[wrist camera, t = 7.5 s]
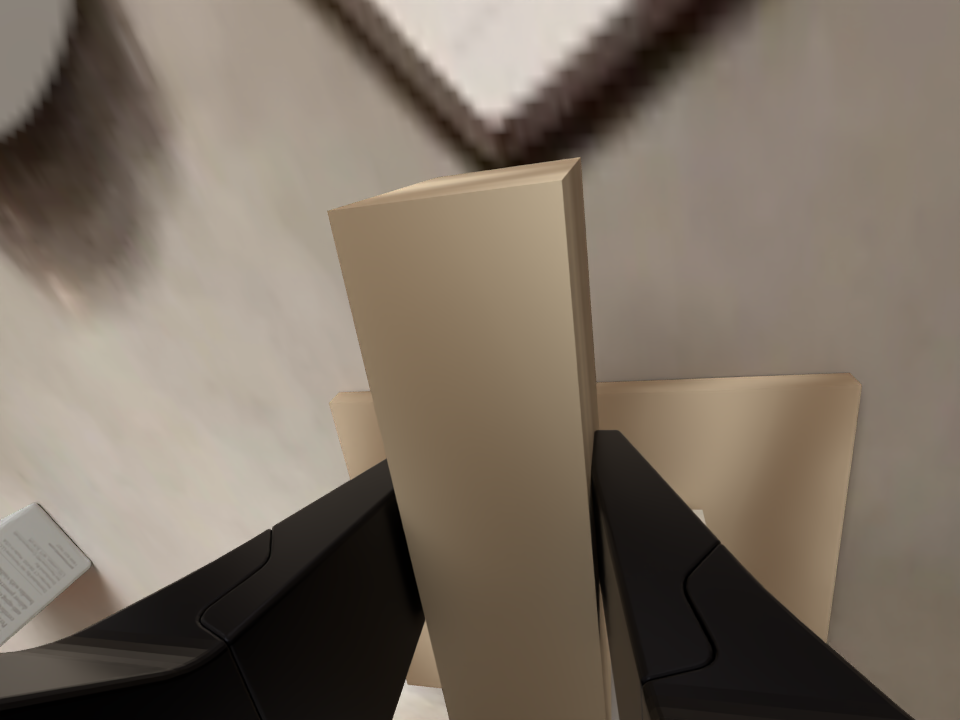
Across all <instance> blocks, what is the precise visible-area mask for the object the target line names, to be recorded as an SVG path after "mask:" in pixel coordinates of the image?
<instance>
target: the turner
mask: <svg viewBox="0 0 960 720" xmlns="http://www.w3.org/2000/svg"><path fill="white" fill-rule="evenodd" d="M327 212H328V216H329V220H330V225H331V229H332V233H333V237H334V241H335V245H336V250H337V254H338V258H339V262H340V266H341V270H342V274H343V279H344V283H345V287H346V291H347V295H348V299H349V304H350V308H351V312H352V316H353V320H354V324H355V329H356V333H357V337H358V341H359V345H360V349H361V354H362V358H363V362H364V366H365V370H366V374H367V379H368V383H369V387H370V391H371V395H372V399H373V404H374V408H375V412H376V416H377V420H378V424H379V429H380V433H381V437H382V441H383V445H384V449H385V453H386V458H387V462H388V466H389V470H390V474H391V478H392V483H393V487H394V491H395V495H396V499H397V503H398V508H399V512H400V516H401V520H402V524H403V528H404V533H405V537H406V541H407V545H408V549H409V553H410V558H411V562H412V566H413V570H414V574H415V578H416V583H417V587H418V591H419V595H420V599H421V603H422V608H423V612H424V616H425V620H426V624H427V628H428V632H429V637H430V641H431V645H432V649H433V653H434V657H435V662H436V666H437V670H438V674H439V678H440V682H441V687H442V691H443V695H444V699H445V703H446V707H447V712H448V716H449V720H619V714H618V707H617V700H616V693H615V686H614V679H613V672H612V665H611V658H610V651H609V644H608V637H607V630H606V623H605V616H604V609H603V602H602V595H601V588H600V581H599V569H598V556H597V543H596V530H595V518H594V505H593V492H592V480H591V465H592V453H593V441H594V431H596V430H599V417H598V402H597V388H596V373H595V358H594V344H593V329H592V315H591V300H590V286H589V271H588V257H587V242H586V228H585V213H584V198H583V184H582V169H581V157H579V158H572V159H565V160H558V161H551V162H544V163H536V164H529V165H522V166H515V167H508V168H501V169H494V170H487V171H480V172H473V173H466V174H458V175H451V176H444V177H437V178H434V179H431V180H427V181H424V182H421V183H418V184H414V185H411V186H408V187H404V188H401V189H398V190H395V191H391V192H388V193H385V194H382V195H378V196H375V197H372V198H368V199H365V200H362V201H359V202H355V203H352V204H349V205H346V206H342V207H339V208H336V209H332V210H329V211H327Z"/></svg>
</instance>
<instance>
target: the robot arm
mask: <svg viewBox="0 0 960 720" xmlns="http://www.w3.org/2000/svg"><path fill="white" fill-rule="evenodd" d="M591 480H592V492H593V505H594V518H595V530H596V543H597V556H598V569H599V581H600V588H601V595H602V602H603V609H604V616H605V623H606V630H607V637H608V644H609V651H610V658H611V665H612V672H613V679H614V686H615V693H616V700H617V707H618V714H619V720H915V719H914V718H912V717H911V716H910V715H909V714H907V713H906V712H905V711H904V710H903V709H901V708H900V707H899V706H898V705H897V704H895V703H894V702H893V701H892V700H891V699H890V698H888V697H887V696H886V695H885V694H884V693H883V692H882V691H880V690H879V689H878V688H877V687H876V686H875V685H874V684H872V683H871V682H870V681H869V680H868V679H867V678H866V677H864V676H863V675H862V674H861V673H860V672H859V671H858V670H856V669H855V668H854V667H853V666H852V665H851V664H850V663H848V662H847V661H846V660H845V659H844V658H843V657H841V656H840V655H839V654H838V653H837V652H836V651H835V650H833V649H832V648H831V647H830V646H829V645H828V644H827V643H825V642H824V641H823V640H822V639H821V638H820V637H819V636H817V635H816V634H815V633H814V632H813V631H812V630H811V629H809V628H808V627H807V626H806V625H805V624H804V623H803V622H801V621H800V620H799V619H798V618H797V617H796V616H795V615H794V614H793V613H791V612H790V611H789V610H788V609H787V608H786V607H785V606H784V605H783V604H782V603H781V602H779V601H778V600H777V599H776V598H775V597H774V596H773V595H772V594H771V593H770V592H769V591H767V590H766V589H765V588H764V587H763V586H762V585H761V584H760V583H759V582H758V580H757V579H756V578H755V577H754V576H753V575H752V574H751V573H750V572H749V571H748V570H747V569H746V568H745V567H744V566H743V565H742V564H741V563H740V562H739V561H738V560H737V559H736V558H735V557H734V555H733V554H732V553H731V552H730V551H729V550H728V549H727V548H726V547H725V546H724V545H723V544H721V542H720V540H719V539H718V538H717V537H716V536H715V535H714V534H713V533H712V531H711V530H710V529H709V528H708V527H707V526H706V525H705V524H704V523H703V522H702V521H701V519H700V518H699V517H698V516H697V515H696V514H695V513H694V512H693V511H692V510H691V508H690V507H689V506H688V505H687V504H686V503H685V502H684V501H683V500H682V499H681V497H680V496H679V495H678V494H677V493H676V492H675V491H674V490H673V489H672V488H671V486H670V485H669V484H668V483H667V482H666V481H665V480H664V479H663V478H662V477H661V475H660V474H659V473H658V472H657V471H656V470H655V469H654V468H653V467H652V466H651V465H650V463H649V462H648V461H647V460H646V459H645V458H644V457H643V456H642V455H641V454H640V452H639V451H638V450H637V449H636V448H635V447H634V446H633V445H632V444H631V443H630V441H629V440H628V439H627V438H626V437H625V436H624V435H623V434H622V433H621V432H620V431H619V430H596V431H594V441H593V453H592V465H591ZM424 623H425V616H424V612H423V608H422V603H421V599H420V595H419V591H418V587H417V583H416V578H415V574H414V570H413V566H412V562H411V558H410V553H409V549H408V545H407V541H406V537H405V533H404V528H403V524H402V520H401V516H400V512H399V508H398V503H397V499H396V495H395V491H394V487H393V483H392V478H391V474H390V470H389V466H388V462H387V458H386V459H385V460H383V461H381V462H380V463H378V464H376V465H375V466H373V467H371V468H370V469H368V470H366V471H365V472H363V473H361V474H360V475H358V476H356V477H355V478H353V479H351V480H350V481H348V482H346V483H345V484H343V485H341V486H340V487H338V488H336V489H335V490H333V491H331V492H330V493H328V494H326V495H324V496H323V497H321V498H319V499H318V500H316V501H314V502H313V503H311V504H309V505H308V506H306V507H304V508H303V509H301V510H299V511H298V512H296V513H294V514H293V515H291V516H289V517H288V518H286V519H284V520H283V521H281V522H279V523H278V524H276V525H274V526H273V528H272V530H271V529H268V530H266V531H264V532H263V533H261V534H259V535H258V536H256V537H254V538H253V539H251V540H249V541H248V542H246V543H244V544H242V545H241V546H239V547H237V548H236V549H234V550H232V551H230V552H229V553H227V554H225V555H223V556H222V557H220V558H218V559H217V560H215V561H213V562H211V563H209V564H207V565H205V566H204V567H202V568H200V569H198V570H196V571H194V572H192V573H191V574H189V575H187V576H185V577H183V578H181V579H179V580H178V581H176V582H174V583H172V584H170V585H168V586H166V587H164V588H162V589H160V590H158V591H157V592H155V593H153V594H151V595H149V596H147V597H145V598H143V599H141V600H139V601H137V602H136V603H134V604H132V605H130V606H128V607H126V608H124V609H122V610H120V611H118V612H116V613H115V614H113V615H111V616H109V617H107V618H105V619H103V620H101V621H99V622H97V623H95V624H94V625H92V626H90V627H88V628H86V629H84V630H82V631H79V632H77V633H75V634H73V635H71V636H69V637H66V638H63V639H61V640H58V641H55V642H53V643H49V644H46V645H42V646H39V647H36V648H31V649H26V650H21V651H15V652H6V653H0V720H392V719H393V716H394V713H395V710H396V707H397V704H398V701H399V698H400V695H401V692H402V689H403V686H404V683H405V680H406V677H407V674H408V671H409V668H410V665H411V662H412V659H413V656H414V653H415V650H416V647H417V644H418V641H419V638H420V635H421V632H422V629H423V626H424Z"/></svg>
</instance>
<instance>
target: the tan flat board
mask: <svg viewBox="0 0 960 720" xmlns="http://www.w3.org/2000/svg"><path fill="white" fill-rule="evenodd" d="M596 388H597V402H598V417H599V430H619V431H620V432H621V433H622V434H623V435H624V436H625V437H626V438H627V439H628V440H629V441H630V443H631V444H632V445H633V446H634V447H635V448H636V449H637V450H638V451H639V452H640V454H641V455H642V456H643V457H644V458H645V459H646V460H647V461H648V462H649V463H650V465H651V466H652V467H653V468H654V469H655V470H656V471H657V472H658V473H659V474H660V475H661V477H662V478H663V479H664V480H665V481H666V482H667V483H668V484H669V485H670V486H671V488H672V489H673V490H674V491H675V492H676V493H677V494H678V495H679V496H680V497H681V499H682V500H683V501H684V502H685V503H686V504H687V505H688V506H689V507H690V508H691V510H703V514H704V518H705V522H706V526H707V527H708V528H709V529H710V530H711V531H712V533H713V534H714V535H715V536H716V537H717V538H718V539H719V540H720V542H721V544H723V545H724V546H725V547H726V548H727V549H728V550H729V551H730V552H731V553H732V554H733V555H734V557H735V558H736V559H737V560H738V561H739V562H740V563H741V564H742V565H743V566H744V567H745V568H746V569H747V570H748V571H749V572H750V573H751V574H752V575H753V576H754V577H755V578H756V579H757V580H758V582H759V583H760V584H761V585H762V586H763V587H764V588H765V589H766V590H767V591H769V592H770V593H771V594H772V595H773V596H774V597H775V598H776V599H777V600H778V601H779V602H781V603H782V604H783V605H784V606H785V607H786V608H787V609H788V610H789V611H790V612H791V613H793V614H794V615H795V616H796V617H797V618H798V619H799V620H800V621H801V622H803V623H804V624H805V625H806V626H807V627H808V628H809V629H811V630H812V631H813V632H814V633H815V634H816V635H817V636H819V637H820V638H821V639H822V640H823V641H824V642H825V643H827V636H828V629H829V622H830V614H831V607H832V600H833V593H834V585H835V578H836V571H837V563H838V556H839V549H840V542H841V534H842V527H843V520H844V512H845V505H846V498H847V491H848V483H849V476H850V469H851V461H852V454H853V447H854V440H855V432H856V425H857V418H858V410H859V403H860V396H861V389H862V385H861V384H860V383H859V382H858V381H857V380H856V379H855V378H854V377H853V376H852V375H851V374H850V373H834V374H808V375H782V376H756V377H730V378H703V379H677V380H651V381H625V382H599V383H596ZM329 405H330V408H331V412H332V415H333V419H334V422H335V426H336V430H337V433H338V437H339V440H340V444H341V448H342V451H343V455H344V458H345V462H346V465H347V469H348V473H349V476H350V480H351V479H353V478H355V477H356V476H358V475H360V474H361V473H363V472H365V471H366V470H368V469H370V468H371V467H373V466H375V465H376V464H378V463H380V462H381V461H383V460H385V459H386V453H385V449H384V445H383V441H382V437H381V433H380V429H379V424H378V420H377V416H376V412H375V408H374V404H373V399H372V395H371V391H365V392H339V393H338V394H337V395H336V396H335V397H334V398H333V399H332V400H331V402H330V403H329ZM406 680H407V684H408V685H416V686H426V687H435V688H442V687H441V682H440V678H439V674H438V670H437V666H436V662H435V657H434V653H433V649H432V645H431V641H430V637H429V632H428V628H427V624H426V620H425V623H424V626H423V629H422V632H421V635H420V638H419V641H418V644H417V647H416V650H415V653H414V656H413V659H412V662H411V665H410V668H409V671H408V674H407V677H406Z"/></svg>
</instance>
